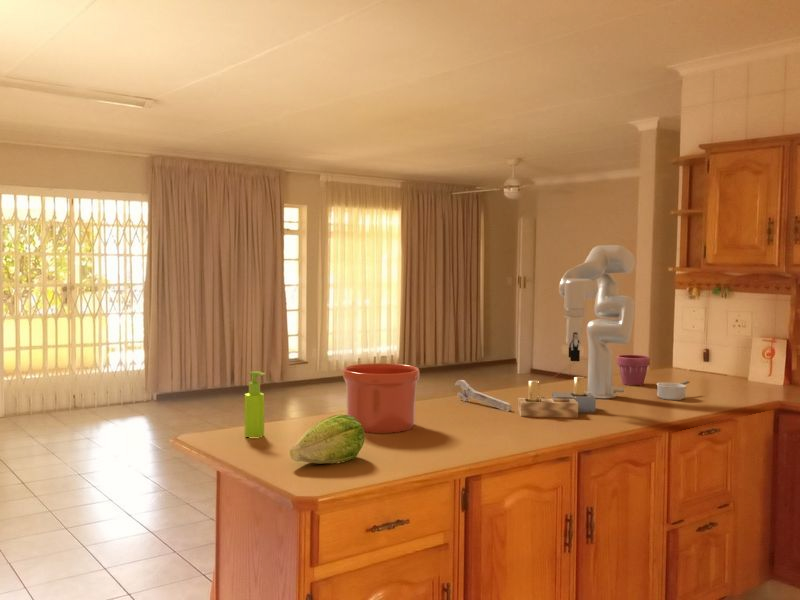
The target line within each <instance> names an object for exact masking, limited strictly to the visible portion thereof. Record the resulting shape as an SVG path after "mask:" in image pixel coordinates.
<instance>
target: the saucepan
mask: <svg viewBox="0 0 800 600" xmlns="http://www.w3.org/2000/svg"><path fill="white" fill-rule="evenodd" d="M690 383H691V382H690V381H689V380H687V381H683V382H680V383H676V382H657V383H656V385H657V390H656V394H657V397H659V398H660V399H663V400H668V401H681V400H683V399H685V398H686V389H687V388H686V387H687V384H690Z"/></svg>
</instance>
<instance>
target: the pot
mask: <svg viewBox="0 0 800 600" xmlns="http://www.w3.org/2000/svg"><path fill="white" fill-rule="evenodd" d="M342 376H343V377H342V378H343V380H344V381H345V390H346V415H348V416H352V417H354V418H356V419H357V420H358V421H359V422H360V423H361V424H362V426H363V430H364V433H368V432H369V433H371V434H392V433H393V432H395V433H402V432H405V431H409V430H411V429H412V428H413V427H414V424H415V415H416V414H415V413H416V397H417V395H416V394H417V391H416V390H417V383H418V381H419V379H420V369H419V368H418V366H417V367H416V366H414V365H410V364H409V365H408V364H401V363H381V362H379V363H359V364H353V365H348V366H347V365H346V366H345V367H343V370H342ZM401 431H402V432H401Z"/></svg>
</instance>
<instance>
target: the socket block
mask: <svg viewBox="0 0 800 600" xmlns="http://www.w3.org/2000/svg"><path fill="white" fill-rule="evenodd" d="M551 399H574V400H575V401H576V402H577V403H578V413H589V414H590V413H596V405H597V404H596V403H597V401H596V399H597V398H595V397H594V396H593V395H592V394H591V393H585V396H574V391H572V392H570V391H569V392H567V391H562V392H561V391H560V392H559V391H553V392H552V397H551Z"/></svg>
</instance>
